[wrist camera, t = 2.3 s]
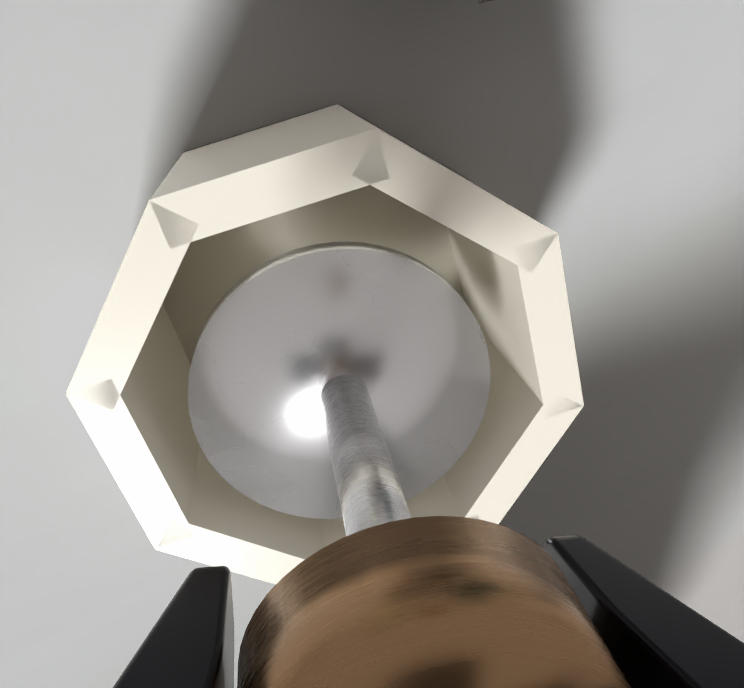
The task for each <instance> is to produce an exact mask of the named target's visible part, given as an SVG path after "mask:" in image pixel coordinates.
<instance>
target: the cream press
mask: <svg viewBox="0 0 744 688" xmlns="http://www.w3.org/2000/svg"><path fill="white" fill-rule="evenodd" d="M329 242H362V243H370V244H377V245H381V246H384V247H388V248H391V249H395V250H398V251H400V252H403V253H405V254H407V255H410V256H412V257H414V258H416V259H418V260H419V261H421V262H423V263H424V264H426V265H428V266H429V267H431V268H432V269H433V270H435V271H436V272H437V273H438V274H439V275H441V276H442V277H443V278H444V279H445V280H446V281H447V282H448V283H449V284H450V285H451V286H452V287H453V288H454V289H455V291H456V292H457V293H458V294H459V295H460V296H461V297H462V299H463V300H464V301H465V302H466V304H467V305H468V307H469V308H470V310H471V311H472V313H473V314H474V316H475V317H476V319H477V322H478V324H479V326H480V328H481V330H482V332H483V335H484V338H485V342H486V345H487V348H488V354H489V361H490V389H489V396H488V402H487V405H486V409H485V412H484V416H483V418H482V421H481V423H480V425H479V428H478V430H477V432H476V434H475V436H474V437H473V439H472V441H471V443H470V444H469V446H468V448H467V449H466V450H465V452H464V453H463V454H462V456H461V457H460V458H459V459H458V461H457V462H456V463H455V464H454V465H453V466H452V467H451V468H450V469H449V470H448V471H447V472H446V473H445V474H444V475H443V476H442V477H441V478H440V479H438V480H437V481H436V482H435V483H434V484H432V485H431V486H430V487H428V488H427V489H425V490H424V491H422V492H421V493H419V494H418V495H416V496H414V497H412V498H410V499H408V500H406V504H407V507H408V510H409V513H410V516H411V518H414V517H429V516H455V517H467V518H473V519H479V520H485V521H488V522H492V523H495V524H499V523H500V522H501V520H502V519H503V517H504V516H505V515H506V513H507V512H508V510H509V509H510V508H511V506H512V505H513V504H514V502H515V501H516V499H517V498H518V497H519V495H520V494H521V492H522V491H523V490H524V488H525V487H526V485H527V484H528V483H529V481H530V480H531V479H532V477H533V476H534V474H535V473H536V472H537V470H538V469H539V467H540V466H541V465H542V463H543V462H544V460H545V459H546V458H547V456H548V455H549V454H550V452H551V451H552V449H553V448H554V447H555V445H556V444H557V442H558V441H559V440H560V438H561V437H562V435H563V434H564V433H565V431H566V430H567V429H568V427H569V426H570V424H571V423H572V422H573V420H574V419H575V417H576V416H577V415H578V413H579V412H580V410H581V409H582V408H583V406H584V403H583V396H582V390H581V383H580V376H579V370H578V363H577V356H576V350H575V343H574V337H573V330H572V323H571V317H570V310H569V303H568V297H567V290H566V283H565V277H564V270H563V264H562V257H561V250H560V244H559V237H558V233H556V232H555V231H553V230H551V229H550V228H548V227H546V226H545V225H543V224H541V223H540V222H538V221H536V220H534V219H533V218H531V217H529V216H528V215H526V214H524V213H523V212H521V211H519V210H518V209H516V208H514V207H512V206H511V205H509V204H507V203H506V202H504V201H502V200H501V199H499V198H497V197H496V196H494V195H492V194H490V193H489V192H487V191H485V190H484V189H482V188H480V187H479V186H477V185H475V184H474V183H472V182H470V181H468V180H467V179H465V178H463V177H462V176H460V175H458V174H456V173H455V172H453V171H451V170H450V169H448V168H446V167H444V166H443V165H441V164H439V163H438V162H436V161H434V160H432V159H431V158H429V157H427V156H425V155H424V154H422V153H420V152H419V151H417V150H415V149H413V148H412V147H410V146H408V145H407V144H405V143H403V142H401V141H400V140H398V139H396V138H395V137H393V136H391V135H389V134H388V133H386V132H384V131H382V130H381V129H379V128H377V127H376V126H374V125H372V124H370V123H369V122H367V121H365V120H364V119H362V118H360V117H358V116H357V115H355V114H353V113H352V112H350V111H348V110H346V109H345V108H343V107H341V106H339V105H338V104H336V105H333V106H330V107H327V108H324V109H320V110H317V111H314V112H311V113H308V114H305V115H301V116H298V117H295V118H292V119H289V120H286V121H282V122H279V123H276V124H273V125H270V126H267V127H263V128H260V129H257V130H254V131H251V132H247V133H244V134H241V135H238V136H235V137H232V138H228V139H225V140H222V141H219V142H216V143H213V144H209V145H206V146H203V147H200V148H197V149H194V150H190V151H187V152H184V153H183V154H182V155H181V156H180V158H179V159H178V161H177V162H176V163H175V165H174V166H173V167H172V169H171V170H170V172H169V173H168V174H167V176H166V177H165V179H164V180H163V181H162V183H161V184H160V185H159V187H158V188H157V190H156V191H155V192H154V194H153V195H152V197H151V198H150V199H149V201H148V203H147V206H146V208H145V210H144V213H143V215H142V217H141V220H140V222H139V224H138V227H137V229H136V231H135V234H134V236H133V238H132V241H131V243H130V245H129V248H128V250H127V252H126V255H125V257H124V259H123V262H122V264H121V266H120V269H119V271H118V273H117V276H116V278H115V280H114V283H113V285H112V287H111V289H110V292H109V294H108V296H107V299H106V301H105V303H104V306H103V308H102V310H101V313H100V315H99V317H98V320H97V322H96V324H95V327H94V329H93V331H92V334H91V336H90V338H89V341H88V343H87V345H86V348H85V350H84V352H83V355H82V357H81V359H80V362H79V364H78V366H77V369H76V371H75V373H74V376H73V378H72V380H71V383H70V385H69V387H68V390H67V392H66V395H67V397H68V399H69V400H70V402H71V404H72V406H73V407H74V409H75V411H76V413H77V414H78V416H79V418H80V420H81V421H82V423H83V425H84V427H85V428H86V430H87V432H88V433H89V435H90V437H91V439H92V440H93V442H94V444H95V446H96V447H97V449H98V451H99V453H100V454H101V456H102V458H103V460H104V461H105V463H106V465H107V466H108V468H109V470H110V472H111V473H112V475H113V477H114V479H115V480H116V482H117V484H118V486H119V487H120V489H121V491H122V493H123V494H124V496H125V498H126V499H127V501H128V503H129V505H130V506H131V508H132V510H133V512H134V513H135V515H136V517H137V519H138V520H139V522H140V524H141V526H142V527H143V529H144V531H145V532H146V534H147V536H148V538H149V539H150V541H151V543H152V545H153V546H154V548H155V550H158V551H162V552H165V553H169V554H172V555H176V556H179V557H183V558H186V559H190V560H193V561H197V562H200V563H204V564H207V565H210V566H214V567H215V566H226V567H228V568H229V570H230V571H231V572H235V573H238V574H242V575H245V576H249V577H252V578H255V579H259V580H262V581H266V582H269V583H273V584H277V583H278V582H279V581H280V580H281V579H282V578H283V577H284V576H285V575H286V574H288V573H289V572H290V571H291V570H292V569H294V568H295V567H296V566H297V565H298V564H299V563H301V562H302V561H304V560H305V559H307V558H308V557H310V556H311V555H313V554H314V553H316V552H317V551H319V550H320V549H322V548H324V547H326V546H328V545H330V544H332V543H334V542H336V541H337V540H339V539H341V538H343V537H346V532H345V527H344V522H343V518H342V519H313V518H306V517H299V516H294V515H290V514H286V513H283V512H279V511H276V510H273V509H271V508H268V507H266V506H263V505H261V504H259V503H257V502H256V501H254V500H252V499H250V498H248V497H246V496H245V495H243V494H242V493H241V492H239V491H238V490H237V489H235V488H234V487H232V486H231V485H230V484H229V483H228V482H227V481H226V480H225V479H224V478H223V477H222V476H221V475H220V474H219V473H218V472H217V471H216V470H215V468H214V467H213V466H212V464H211V463H210V462H209V461H208V459H207V457H206V456H205V454H204V452H203V451H202V449H201V447H200V445H199V443H198V441H197V438H196V436H195V433H194V431H193V428H192V423H191V419H190V415H189V408H188V394H187V392H188V380H189V372H190V367H191V362H192V358H193V354H194V349H195V345H196V342H197V340H198V337H199V335H200V332H201V330H202V327H203V325H204V324H205V322H206V320H207V318H208V317H209V315H210V313H211V311H212V310H213V308H214V307H215V306H216V305H217V303H218V302H219V301H220V299H221V298H222V297H223V296H224V294H225V293H226V292H227V291H228V290H229V289H230V288H232V287H233V286H234V285H235V284H236V283H237V282H238V281H239V280H240V279H241V278H243V277H244V276H245V275H247V274H248V273H249V272H251V271H252V270H253V269H255V268H256V267H258V266H260V265H261V264H263V263H265V262H267V261H269V260H271V259H272V258H274V257H276V256H279V255H282V254H284V253H287V252H289V251H292V250H294V249H298V248H302V247H306V246H310V245H314V244H320V243H329Z"/></svg>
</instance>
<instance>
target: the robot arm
mask: <svg viewBox="0 0 744 688" xmlns="http://www.w3.org/2000/svg"><path fill="white" fill-rule="evenodd" d="M543 549H544V550H545V551H546V552H547V553H548V554H549V555H550V556H551V557H552V558H553V560H554V561H555V562H556V563H557V565H558V566H559V567H560V569H561V570H562V572H563V574H564V575H565V577H566V579H567V580H568V582H569V584H570V585H571V587H572V589H573V590H574V592H575V594H576V595H577V597H578V599H579V600H580V602H581V604H582V605H583V607H584V609H585V610H586V612H587V614H588V616H589V617H590V619H591V621H592V622H593V624H594V626H595V627H596V629H597V631H598V632H599V634H600V636H601V637H602V639H603V641H604V642H605V644H606V646H607V647H608V649H609V651H610V653H611V654H612V656H613V658H614V659H615V661H616V663H617V664H618V666H619V668H620V669H621V671H622V673H623V674H624V676H625V678H626V679H627V681H628V683H629V684H630V686H631V688H744V643H743V642H741V641H740V640H738V639H737V638H735V637H734V636H732V635H731V634H729V633H728V632H726V631H724V630H723V629H721V628H720V627H718V626H717V625H715V624H714V623H712V622H711V621H709V620H708V619H706V618H705V617H703V616H702V615H700V614H699V613H697V612H696V611H694V610H693V609H691V608H689V607H688V606H686V605H685V604H683V603H682V602H680V601H679V600H677V599H676V598H674V597H673V596H671V595H670V594H668V593H667V592H665V591H664V590H662V589H661V588H659V587H658V586H656V585H654V584H653V583H651V582H650V581H648V580H647V579H645V578H644V577H642V576H641V575H639V574H638V573H636V572H635V571H633V570H632V569H630V568H629V567H627V566H626V565H624V564H623V563H621V562H620V561H618V560H616V559H615V558H613V557H612V556H610V555H609V554H607V553H606V552H604V551H603V550H601V549H600V548H598V547H597V546H595V545H594V544H592V543H591V542H589V541H588V540H586V539H584V538H583V537H581V536H577V535H569V536H558V537H551V538H549V539H547V540H546V542H545V543H544V546H543ZM113 688H234V617H233V602H232V587H231V574H230V570H229V568H228V567H226V566H215V567H203V568H196V569H194V570H193V571H191V573H190V574H189V575H188V577H187V578H186V580H185V581H184V583H183V584H182V586H181V587H180V589H179V590H178V592H177V593H176V595H175V596H174V598H173V599H172V601H171V602H170V604H169V605H168V606H167V608H166V609H165V611H164V612H163V614H162V615H161V617H160V618H159V620H158V621H157V623H156V624H155V626H154V627H153V629H152V630H151V632H150V633H149V635H148V636H147V638H146V639H145V641H144V642H143V644H142V645H141V647H140V648H139V650H138V651H137V653H136V654H135V655H134V657H133V658H132V660H131V661H130V663H129V664H128V666H127V667H126V669H125V670H124V672H123V673H122V675H121V676H120V678H119V679H118V681H117V682H116V684H115V685H114V687H113Z"/></svg>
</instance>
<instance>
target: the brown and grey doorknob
mask: <svg viewBox="0 0 744 688" xmlns="http://www.w3.org/2000/svg"><path fill="white" fill-rule="evenodd" d="M489 389H490V361H489V354H488V348H487V345H486V342H485V338H484V335H483V332H482V330H481V328H480V326H479V324H478V322H477V319H476V317H475V316H474V314H473V313H472V311H471V310H470V308H469V307H468V305H467V304H466V302H465V301H464V300H463V299H462V297H461V296H460V295H459V294H458V293H457V292H456V291H455V289H454V288H453V287H452V286H451V285H450V284H449V283H448V282H447V281H446V280H445V279H444V278H443V277H442V276H441V275H439V274H438V273H437V272H436V271H435V270H433V269H432V268H431V267H429V266H428V265H426V264H424V263H423V262H421V261H419V260H418V259H416V258H414V257H412V256H410V255H407V254H405V253H403V252H400V251H398V250H395V249H391V248H388V247H384V246H381V245H377V244H370V243H362V242H329V243H320V244H314V245H310V246H306V247H302V248H298V249H294V250H292V251H289V252H287V253H284V254H282V255H279V256H276V257H274V258H272V259H271V260H269V261H267V262H265V263H263V264H261V265H260V266H258V267H256V268H255V269H253V270H252V271H251V272H249V273H248V274H247V275H245V276H244V277H243V278H241V279H240V280H239V281H238V282H237V283H236V284H235V285H234V286H233V287H232V288H230V289H229V290H228V291H227V292H226V293H225V294H224V296H223V297H222V298H221V299H220V301H219V302H218V303H217V305H216V306H215V307H214V308H213V310H212V311H211V313H210V315H209V317H208V318H207V320H206V322H205V324H204V325H203V327H202V330H201V332H200V335H199V337H198V340H197V342H196V345H195V349H194V354H193V358H192V362H191V367H190V372H189V380H188V392H187V394H188V408H189V415H190V419H191V423H192V428H193V431H194V433H195V436H196V438H197V441H198V443H199V445H200V447H201V449H202V451H203V452H204V454H205V456H206V457H207V459H208V461H209V462H210V463H211V464H212V466H213V467H214V468H215V470H216V471H217V472H218V473H219V474H220V475H221V476H222V477H223V478H224V479H225V480H226V481H227V482H228V483H229V484H230V485H231V486H232V487H234V488H235V489H237V490H238V491H239V492H241V493H242V494H243V495H245V496H246V497H248V498H250V499H252V500H254V501H256V502H257V503H259V504H261V505H263V506H266V507H268V508H271V509H273V510H276V511H279V512H283V513H286V514H290V515H294V516H299V517H306V518H313V519H342V518H343V522H344V527H345V532H346V537H343V538H341V539H339V540H337V541H336V542H334V543H332V544H330V545H328V546H326V547H324V548H322V549H320V550H319V551H317V552H316V553H314V554H313V555H311V556H310V557H308V558H307V559H305V560H304V561H302V562H301V563H299V564H298V565H297V566H296V567H295V568H294V569H292V570H291V571H290V572H289V573H288V574H286V575H285V576H284V577H283V578H282V579H281V580H280V581H279V582H278V583H277V584H276V585H275V586H274V587H273V589H272V590H271V591H270V592H269V593H268V594H267V595H266V597H265V598H264V599H263V601H262V602H261V604H260V605H259V607H258V608H257V609H256V611H255V613H254V614H253V616H252V618H251V620H250V622H249V624H248V626H247V628H246V631H245V634H244V637H243V640H242V643H241V646H240V653H239V660H238V684H237V688H631V686H630V684H629V683H628V681H627V679H626V678H625V676H624V674H623V673H622V671H621V669H620V668H619V666H618V664H617V663H616V661H615V659H614V658H613V656H612V654H611V653H610V651H609V649H608V647H607V646H606V644H605V642H604V641H603V639H602V637H601V636H600V634H599V632H598V631H597V629H596V627H595V626H594V624H593V622H592V621H591V619H590V617H589V616H588V614H587V612H586V610H585V609H584V607H583V605H582V604H581V602H580V600H579V599H578V597H577V595H576V594H575V592H574V590H573V589H572V587H571V585H570V584H569V582H568V580H567V579H566V577H565V575H564V574H563V572H562V570H561V569H560V567H559V566H558V565H557V563H556V562H555V561H554V560H553V558H552V557H551V556H550V555H549V554H548V553H547V552H546V551H545V550H544V549H543V548H541V547H540V546H539V545H538V544H537V543H535V542H533V541H532V540H530V539H529V538H527V537H526V536H524V535H523V534H521V533H518V532H516V531H514V530H512V529H509V528H507V527H505V526H502V525H498V524H495V523H492V522H488V521H485V520H479V519H473V518H467V517H455V516H429V517H414V518H411V516H410V513H409V510H408V507H407V504H406V500H408V499H410V498H412V497H414V496H416V495H418V494H419V493H421V492H422V491H424V490H425V489H427V488H428V487H430V486H431V485H432V484H434V483H435V482H436V481H437V480H438V479H440V478H441V477H442V476H443V475H444V474H445V473H446V472H447V471H448V470H449V469H450V468H451V467H452V466H453V465H454V464H455V463H456V462H457V461H458V459H459V458H460V457H461V456H462V454H463V453H464V452H465V450H466V449H467V448H468V446H469V444H470V443H471V441H472V439H473V437H474V436H475V434H476V432H477V430H478V428H479V425H480V423H481V421H482V418H483V416H484V412H485V409H486V405H487V402H488V396H489Z"/></svg>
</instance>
